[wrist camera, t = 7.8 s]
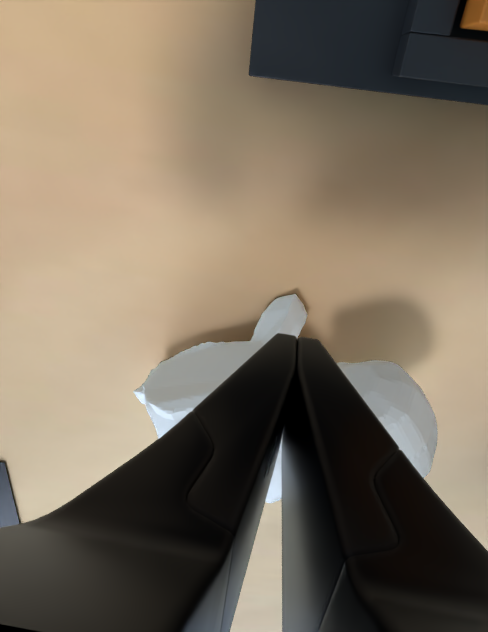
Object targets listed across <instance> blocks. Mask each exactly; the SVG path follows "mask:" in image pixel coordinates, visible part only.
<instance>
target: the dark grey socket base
mask: <svg viewBox="0 0 488 632" xmlns="http://www.w3.org/2000/svg"><path fill="white" fill-rule="evenodd" d="M466 2H467V0H256V3H255V13H254V24H253V34H252V45H251V55H250V66H249V76H254V77H262V78H270V79H278V80H286V81H295V82H303V83H311V84H319V85H327V86H335V87H343V88H352V89H360V90H368V91H376V92H384V93H392V94H400V95H409V96H417V97H425V98H433V99H441V100H449V101H457V102H466V103H474V104H482V105H488V31H479V30H470V29H461V28H460V22H461V19H462V15H463V12H464V9H465V5H466Z"/></svg>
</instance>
